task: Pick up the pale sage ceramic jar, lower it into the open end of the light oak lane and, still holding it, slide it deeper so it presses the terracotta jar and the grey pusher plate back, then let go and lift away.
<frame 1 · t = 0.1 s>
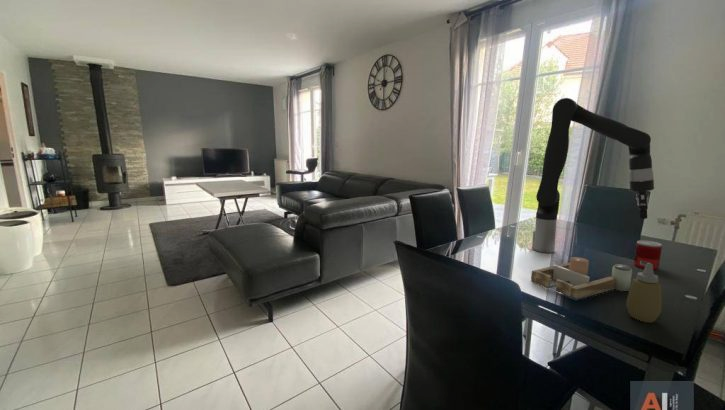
hand: (643, 216, 129), 22 cm above the table, tool pointing down, fingers open, 8 cm apart
terracotta jar: (576, 283, 118), on the table
squeeze bottle: (641, 318, 94), on the table
canned food: (645, 267, 131), on the table
pusher plate: (559, 280, 114), point 3 cm above the table, slide at 0.0 cm
sage jar: (619, 288, 113), on the table
lane: (571, 285, 117), on the table
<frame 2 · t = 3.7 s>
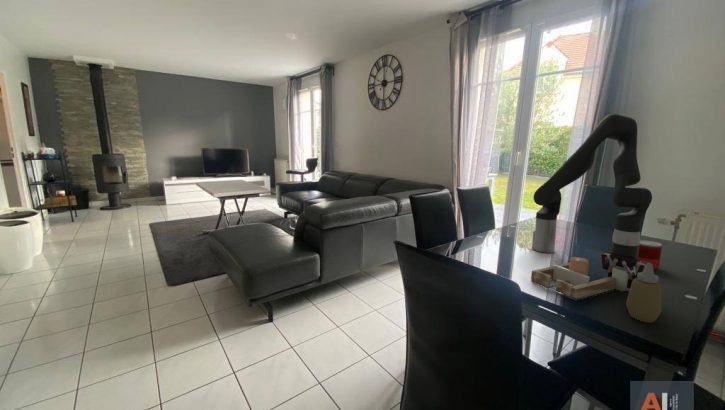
hand: (620, 284, 112), 2 cm above the table, tool pointing down, fingers closed on sage jar, 5 cm apart
sage jar: (619, 288, 113), on the table, touching gripper
everything else where it was.
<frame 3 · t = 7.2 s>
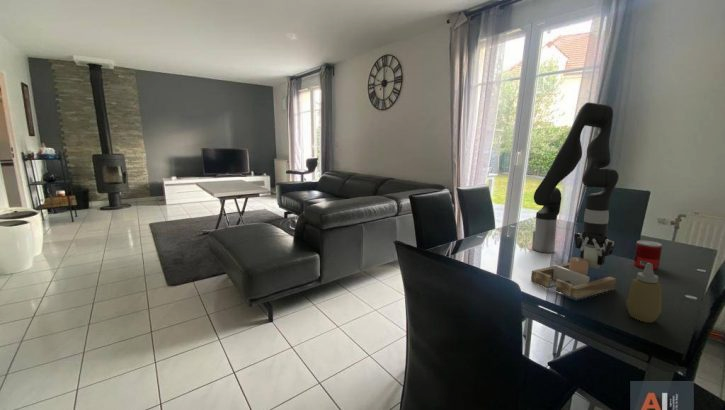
hand: (591, 261, 118), 8 cm above the table, tool pointing down, fingers closed on sage jar, 5 cm apart
sage jar: (591, 265, 119), point 6 cm above the table, touching gripper
everything else where it was.
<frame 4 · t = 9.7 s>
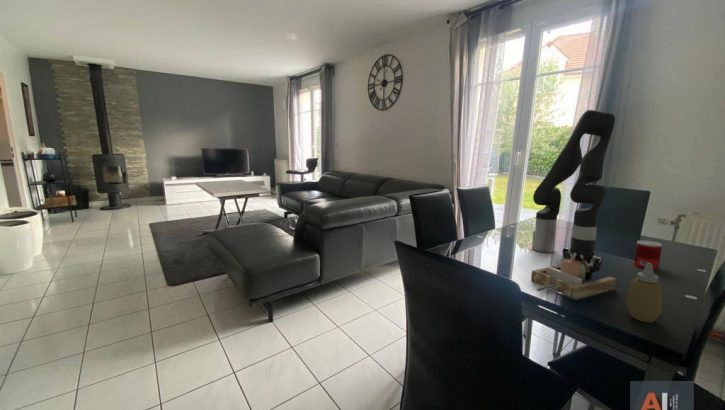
hand: (579, 277, 118), 2 cm above the table, tool pointing down, fingers closed on sage jar, 5 cm apart
terracotta jar: (568, 285, 116), on the table, touching sage jar
pusher plate: (551, 282, 112), point 3 cm above the table, slide at 4.0 cm
sage jar: (579, 281, 118), point 1 cm above the table, touching gripper, terracotta jar
everything else where it was.
when the fingers open (2 cm above the table, at t = 10.8 s): sage jar stays where it is, on the table.
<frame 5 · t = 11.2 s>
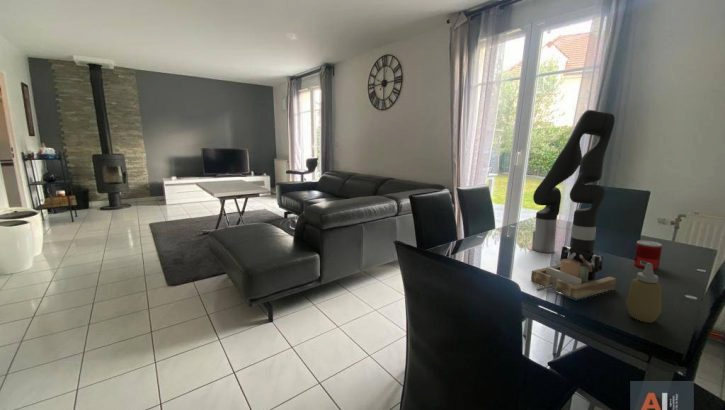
hand: (578, 276, 117), 3 cm above the table, tool pointing down, fingers open, 8 cm apart
terracotta jar: (568, 285, 116), on the table
sage jar: (579, 283, 118), on the table
everything else where it was.
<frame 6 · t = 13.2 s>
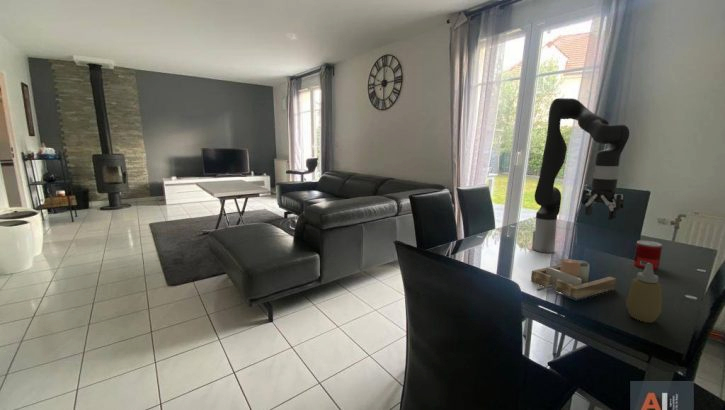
hand: (599, 217, 120), 25 cm above the table, tool pointing down, fingers open, 8 cm apart
nothing on the table moved.
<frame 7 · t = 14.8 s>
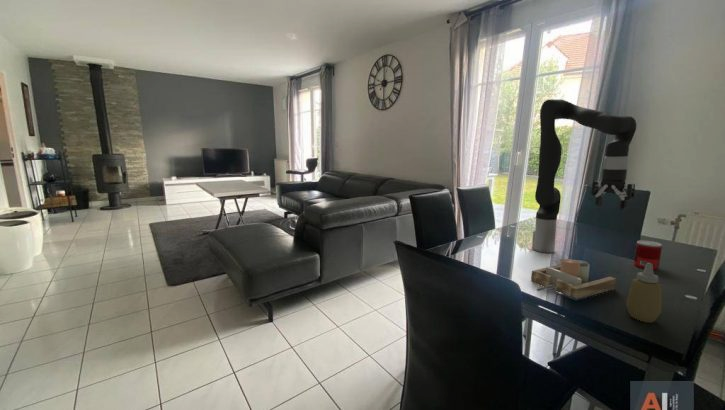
hand: (610, 207, 122), 28 cm above the table, tool pointing down, fingers open, 8 cm apart
nothing on the table moved.
at the end: sage jar inside the target area (1.1 cm from its centre), on the table; pusher plate slide at 4.2 cm; sage jar tilted 0° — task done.
